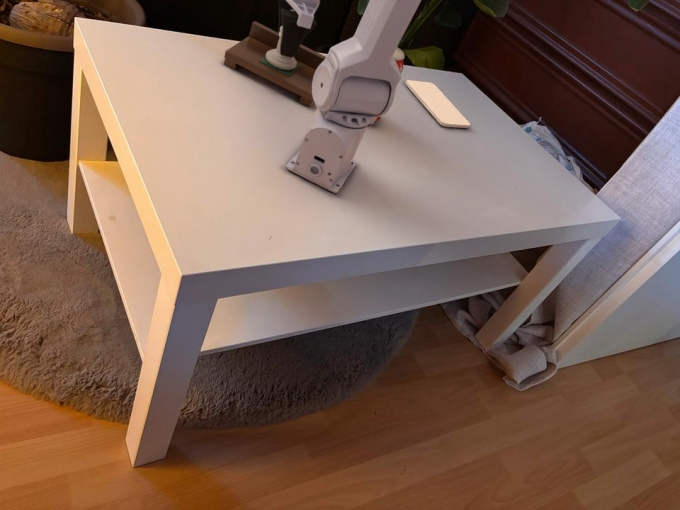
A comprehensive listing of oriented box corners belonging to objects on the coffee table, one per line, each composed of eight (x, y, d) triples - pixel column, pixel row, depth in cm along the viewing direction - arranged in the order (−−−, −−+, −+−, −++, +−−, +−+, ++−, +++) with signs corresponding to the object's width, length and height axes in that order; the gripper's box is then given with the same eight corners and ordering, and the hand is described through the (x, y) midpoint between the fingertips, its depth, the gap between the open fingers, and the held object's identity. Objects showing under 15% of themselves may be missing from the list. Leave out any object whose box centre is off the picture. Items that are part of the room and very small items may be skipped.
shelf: (308, 108, 92) (318, 82, 89) (222, 64, 92) (228, 36, 89) (328, 87, 99) (337, 62, 96) (248, 47, 100) (255, 21, 96)
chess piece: (302, 69, 95) (318, 18, 89) (280, 73, 91) (296, 20, 85) (280, 52, 96) (295, 1, 90) (258, 56, 93) (272, 2, 87)
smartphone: (433, 82, 115) (472, 125, 107) (431, 86, 116) (470, 128, 107) (404, 79, 111) (443, 123, 103) (403, 82, 112) (441, 127, 103)
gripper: (278, -60, 87) (257, 23, 96) (289, -24, 77) (265, 65, 86) (321, -46, 89) (297, 34, 98) (337, -9, 80) (308, 76, 88)
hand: (284, 49), depth 92 cm, fingers closed on chess piece, 3 cm apart
